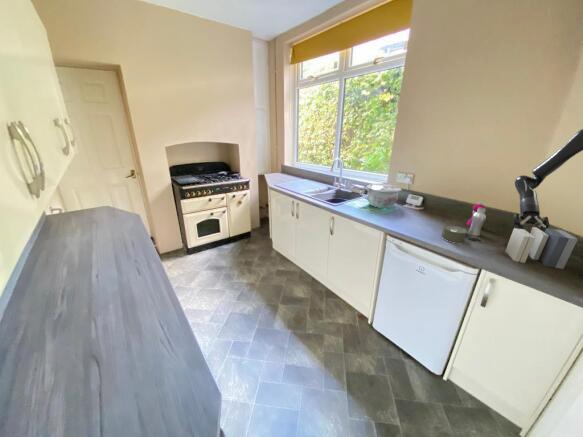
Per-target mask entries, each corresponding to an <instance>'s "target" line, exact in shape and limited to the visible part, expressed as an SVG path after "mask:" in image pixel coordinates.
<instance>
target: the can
mask: <svg viewBox="0 0 583 437" xmlns="http://www.w3.org/2000/svg"><path fill="white" fill-rule="evenodd" d="M467 234H468V230H467V228H464V227H462V226H458V225H453V224H445V225H443V227H442V232H441V236H442V237H443V238H444V239H446V240H448V241H451V242H450V243H452V242H455V243H454V244H464V243H465V239H466V237H467ZM444 239H443V240H444ZM446 240H445V241H446ZM448 241H447V242H448Z"/></svg>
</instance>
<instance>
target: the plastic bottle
mask: <svg viewBox="0 0 583 437" xmlns="http://www.w3.org/2000/svg"><path fill="white" fill-rule="evenodd" d="M486 210H487V209H486V207H485V208H478V210H477V212H476V213H475V214H473V213H472V215H473V216H471V217H472V222H471V226H469V228H468V230H467V234H469V235H471V236H472V237H471V236H466V239H467V240H469V241H473V242H477V241H479V240H480V239H479V238H477V237H478V236H479V237H480V236H481V231H482V227H483V225H484V224H485V222H486V219H487V215H486V214H485V213H486ZM473 236H476V237H473Z"/></svg>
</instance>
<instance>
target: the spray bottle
mask: <svg viewBox="0 0 583 437" xmlns="http://www.w3.org/2000/svg"><path fill="white" fill-rule="evenodd" d="M478 208H485V209H486V207H485V205H483V202H482V201H479V202H478V203H476V204H474V205H473V206H472V216H473V214H475V213H476V212H477V210H478ZM472 216H471V217H470V218H469V219H468V220H467V222H466V226H467V227H470V226H471V222H472Z"/></svg>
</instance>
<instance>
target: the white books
mask: <svg viewBox="0 0 583 437" xmlns="http://www.w3.org/2000/svg"><path fill="white" fill-rule="evenodd" d="M534 240H535V237H534V236H533V235H531V234H530V232H529V231H527V230H526V229H525V228H524V229H519V228H517V227H514V228H513V229H512V231H511V235H510V238H509V241H508V242H507V246H506V248H505V250H504V252H505V253H506V254H507V256H508V257H509V258H511V260H513V261H514V262H516V263H522V264H526V262H527V259H528V257H529V255H528V254H529V252H530V250H531V247H532V245H533V243H534Z"/></svg>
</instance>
